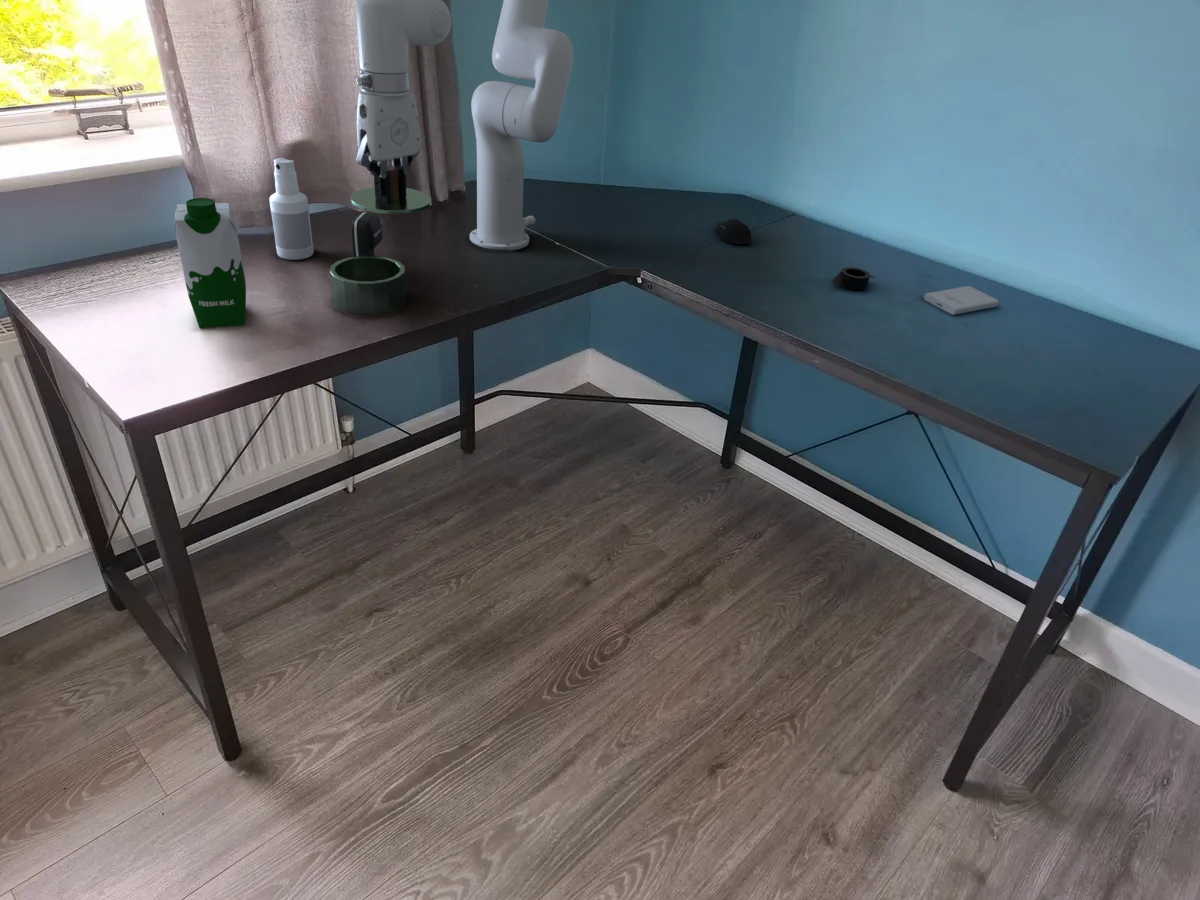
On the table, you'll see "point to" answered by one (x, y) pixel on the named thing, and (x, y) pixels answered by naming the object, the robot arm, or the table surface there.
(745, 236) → the gaming mouse
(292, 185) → the spray bottle
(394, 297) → the pot
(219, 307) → the milk carton
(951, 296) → the hard drive
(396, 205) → the lid
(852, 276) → the duct tape
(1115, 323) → the table surface
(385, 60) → the robot arm
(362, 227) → the battery charger
